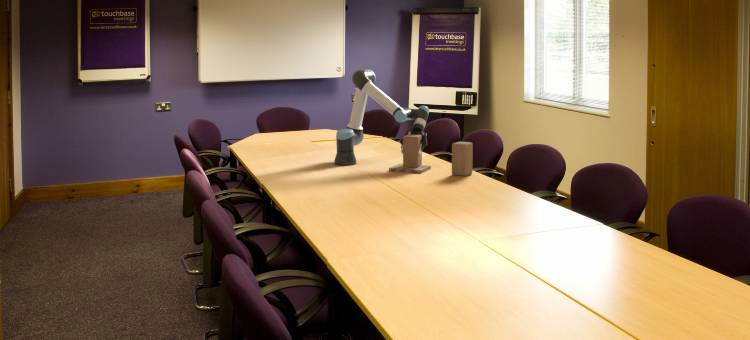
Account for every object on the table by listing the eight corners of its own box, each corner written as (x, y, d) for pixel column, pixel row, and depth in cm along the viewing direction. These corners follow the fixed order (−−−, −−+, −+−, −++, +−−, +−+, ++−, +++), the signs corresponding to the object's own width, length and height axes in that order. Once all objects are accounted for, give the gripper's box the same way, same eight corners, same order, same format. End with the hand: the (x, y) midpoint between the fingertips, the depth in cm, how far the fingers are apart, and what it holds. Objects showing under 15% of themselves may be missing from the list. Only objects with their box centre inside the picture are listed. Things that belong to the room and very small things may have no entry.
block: (458, 172, 445) (459, 141, 441) (472, 174, 439) (473, 142, 436) (451, 175, 437) (451, 143, 433) (465, 176, 431) (465, 144, 427)
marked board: (389, 171, 452) (389, 168, 451) (399, 166, 468) (399, 163, 468) (421, 173, 443) (421, 170, 442) (430, 168, 459) (430, 165, 459)
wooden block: (417, 167, 451) (417, 136, 448) (402, 167, 455) (402, 136, 451) (422, 165, 461) (422, 134, 457) (407, 164, 464) (407, 134, 460)
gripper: (437, 130, 463) (429, 157, 452) (403, 129, 472) (395, 155, 461) (434, 123, 457) (426, 150, 446) (400, 122, 466) (391, 148, 455)
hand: (410, 153), depth 454 cm, fingers open, 11 cm apart
